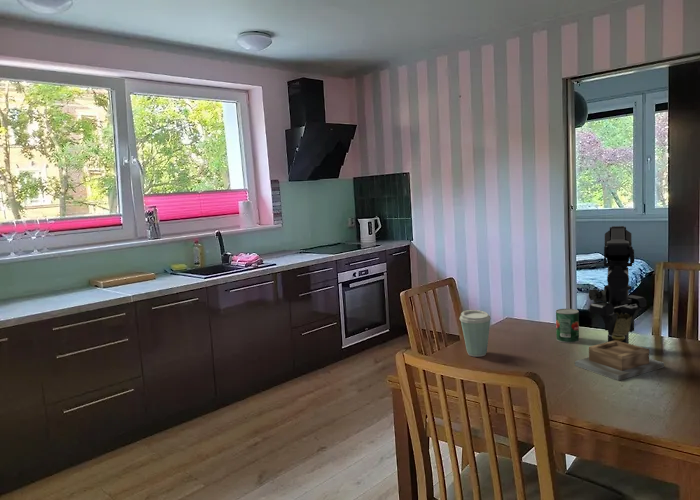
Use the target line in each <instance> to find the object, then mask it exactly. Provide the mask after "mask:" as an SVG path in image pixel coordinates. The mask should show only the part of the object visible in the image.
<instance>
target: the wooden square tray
mask: <svg viewBox="0 0 700 500" xmlns="http://www.w3.org/2000/svg"><path fill="white" fill-rule="evenodd" d="M574 366H575V367H578V368H581V369H585V370H587V371H590V372H593V373H596V374H598V375H601V376H605V378H610V379H613V380H615V381H618V382H619V381H622V380H625V379H629V378H632V377H636V376H639V375H643V374H646V373H649V372H652V371H657V370H660V369H663V368H665V363H664V361H660V360H656V359H653V358H650V349H649V348H647V347H642V346H639V345H635V344H631V343H629V344H628V343H624V342H621V341H617V340H614V341H610V342H608V341H606V342H603V343H599V344H593V345H590V346H588V357H585V358H581V359H577V360H574Z"/></svg>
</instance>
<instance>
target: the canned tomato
mask: <svg viewBox="0 0 700 500" xmlns="http://www.w3.org/2000/svg"><path fill="white" fill-rule="evenodd" d="M579 313H580V312H579V310H578V309H574V308H559V309H558V308H557V309H555V327H556V328H555V330H556V331H555V333H556V338H555V339H556V341H558V342H560V343H566V344H573V343H578V342H579V341H580V320H579V319H580V318H579V317H580V316H579V315H580V314H579Z"/></svg>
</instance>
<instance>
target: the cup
mask: <svg viewBox="0 0 700 500" xmlns="http://www.w3.org/2000/svg"><path fill="white" fill-rule="evenodd" d="M615 314H617V318H616V322H615V327H614V330H613V333H612V338H613V339H614V340H617V341H622V340H624V339H625V336H624V335H626V334H628V333H630V332H629V331H630V326H631V319H632V316H631V317H630V314H627V313H625V314H623V313H621V314H620V315H619V313H618V312H616V313H615Z"/></svg>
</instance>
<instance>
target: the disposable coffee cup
mask: <svg viewBox="0 0 700 500" xmlns="http://www.w3.org/2000/svg"><path fill="white" fill-rule="evenodd" d="M491 319H492V318H491V315H489V313H487V312H486V311H482V310H477V309H471V310H470V309H468V310H464V311H462V312H461V313H460V315H459V319H458V320H459V321H460V323H461V325H460V326H461V328H462V334H463V338H464V343H465V350H466V352H467V354H468V356H470V357H477V358H478V357H479V358H480V357H484V356H486V355H487V352H488V344H489V343H488V342H489V335H490V325H491Z"/></svg>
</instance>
